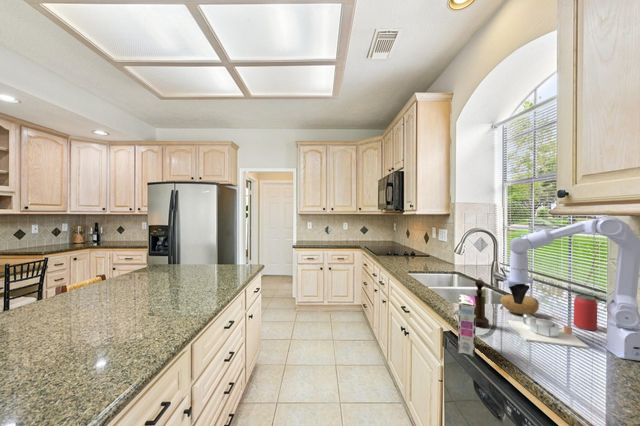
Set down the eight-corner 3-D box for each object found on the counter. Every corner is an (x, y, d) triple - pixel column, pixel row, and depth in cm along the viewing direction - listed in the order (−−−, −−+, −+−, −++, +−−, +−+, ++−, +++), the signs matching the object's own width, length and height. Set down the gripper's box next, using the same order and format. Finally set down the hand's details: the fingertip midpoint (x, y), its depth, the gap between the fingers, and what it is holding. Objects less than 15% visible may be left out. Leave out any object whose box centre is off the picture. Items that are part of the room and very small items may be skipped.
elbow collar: (565, 336, 97) (565, 327, 97) (543, 336, 97) (543, 327, 97) (534, 321, 111) (534, 313, 111) (514, 321, 110) (514, 313, 110)
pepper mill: (478, 320, 114) (479, 277, 113) (492, 326, 107) (493, 281, 107) (466, 322, 111) (466, 278, 111) (479, 329, 105) (480, 282, 105)
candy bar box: (475, 357, 85) (476, 305, 85) (457, 354, 87) (458, 303, 87) (474, 342, 95) (474, 295, 95) (458, 339, 97) (458, 293, 97)
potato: (498, 307, 128) (498, 290, 128) (535, 312, 122) (535, 294, 122) (502, 314, 119) (502, 296, 119) (542, 320, 113) (542, 301, 113)
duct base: (589, 348, 91) (589, 334, 91) (525, 340, 96) (525, 327, 96) (560, 327, 107) (560, 315, 107) (507, 321, 112) (507, 310, 112)
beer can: (601, 332, 103) (602, 300, 103) (581, 330, 104) (581, 299, 104) (588, 324, 109) (589, 295, 109) (569, 323, 111) (569, 294, 110)
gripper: (519, 264, 112) (519, 297, 112) (495, 267, 106) (495, 302, 107) (539, 268, 105) (538, 303, 105) (514, 271, 100) (514, 308, 100)
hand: (518, 303), depth 106 cm, fingers closed
